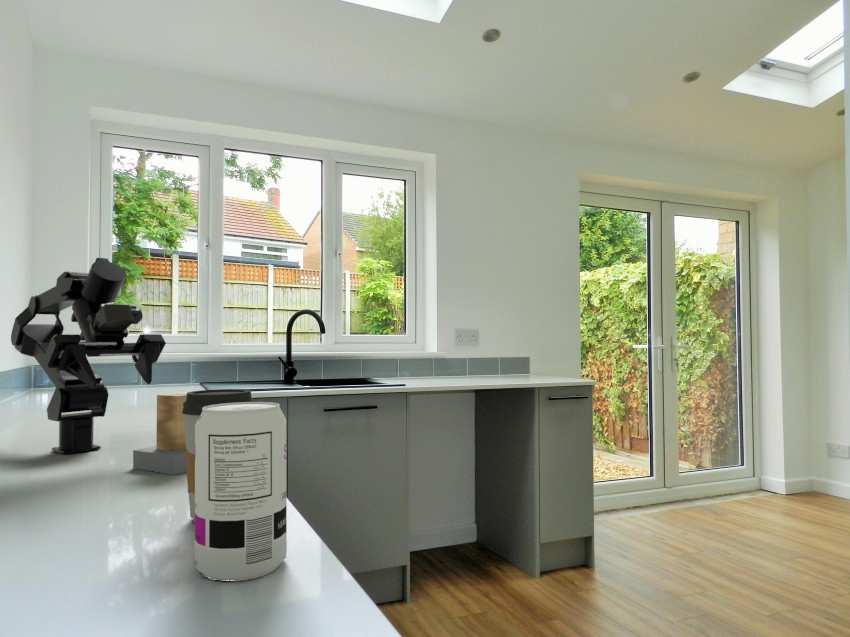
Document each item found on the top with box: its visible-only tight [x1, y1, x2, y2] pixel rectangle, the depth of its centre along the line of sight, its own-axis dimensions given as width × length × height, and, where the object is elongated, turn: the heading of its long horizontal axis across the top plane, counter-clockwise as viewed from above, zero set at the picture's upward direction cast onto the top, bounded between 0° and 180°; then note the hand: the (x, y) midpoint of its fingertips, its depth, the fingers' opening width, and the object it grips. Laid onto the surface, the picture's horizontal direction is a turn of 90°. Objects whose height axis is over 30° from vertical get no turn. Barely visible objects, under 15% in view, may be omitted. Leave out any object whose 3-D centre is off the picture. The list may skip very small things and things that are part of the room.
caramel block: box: [156, 391, 188, 452], centre depth 98 cm, size 5×5×9 cm
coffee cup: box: [182, 388, 255, 524], centre depth 69 cm, size 8×8×15 cm
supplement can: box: [194, 401, 288, 582], centre depth 55 cm, size 8×8×15 cm
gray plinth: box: [132, 445, 187, 476], centre depth 98 cm, size 10×10×3 cm
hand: (123, 384), depth 100 cm, fingers open, 9 cm apart
